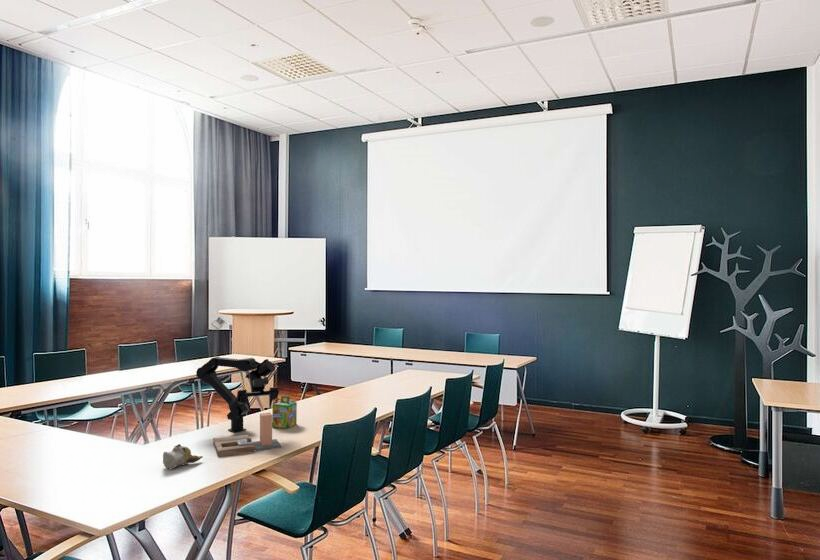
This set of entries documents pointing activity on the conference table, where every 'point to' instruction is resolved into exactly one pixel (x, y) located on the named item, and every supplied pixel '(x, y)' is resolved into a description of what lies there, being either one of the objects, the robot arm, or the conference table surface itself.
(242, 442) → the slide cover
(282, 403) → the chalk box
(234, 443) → the walnut puzzle board
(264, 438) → the terracotta block
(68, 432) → the conference table surface
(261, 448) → the rubber pad
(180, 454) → the ceramic sculpture
